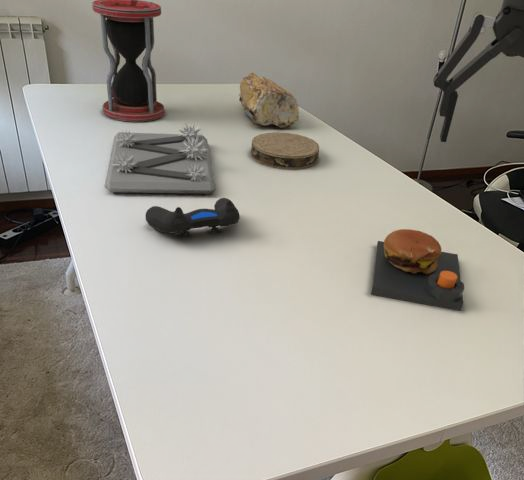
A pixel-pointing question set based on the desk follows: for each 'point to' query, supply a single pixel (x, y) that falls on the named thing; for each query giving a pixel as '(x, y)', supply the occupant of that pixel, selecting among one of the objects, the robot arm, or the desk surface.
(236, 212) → the gaming controller
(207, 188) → the decorative plate
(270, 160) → the wood log slice
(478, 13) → the robot arm
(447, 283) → the button
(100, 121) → the desk surface
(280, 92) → the petrified wood
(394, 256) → the burger
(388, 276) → the scale
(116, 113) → the hourglass
